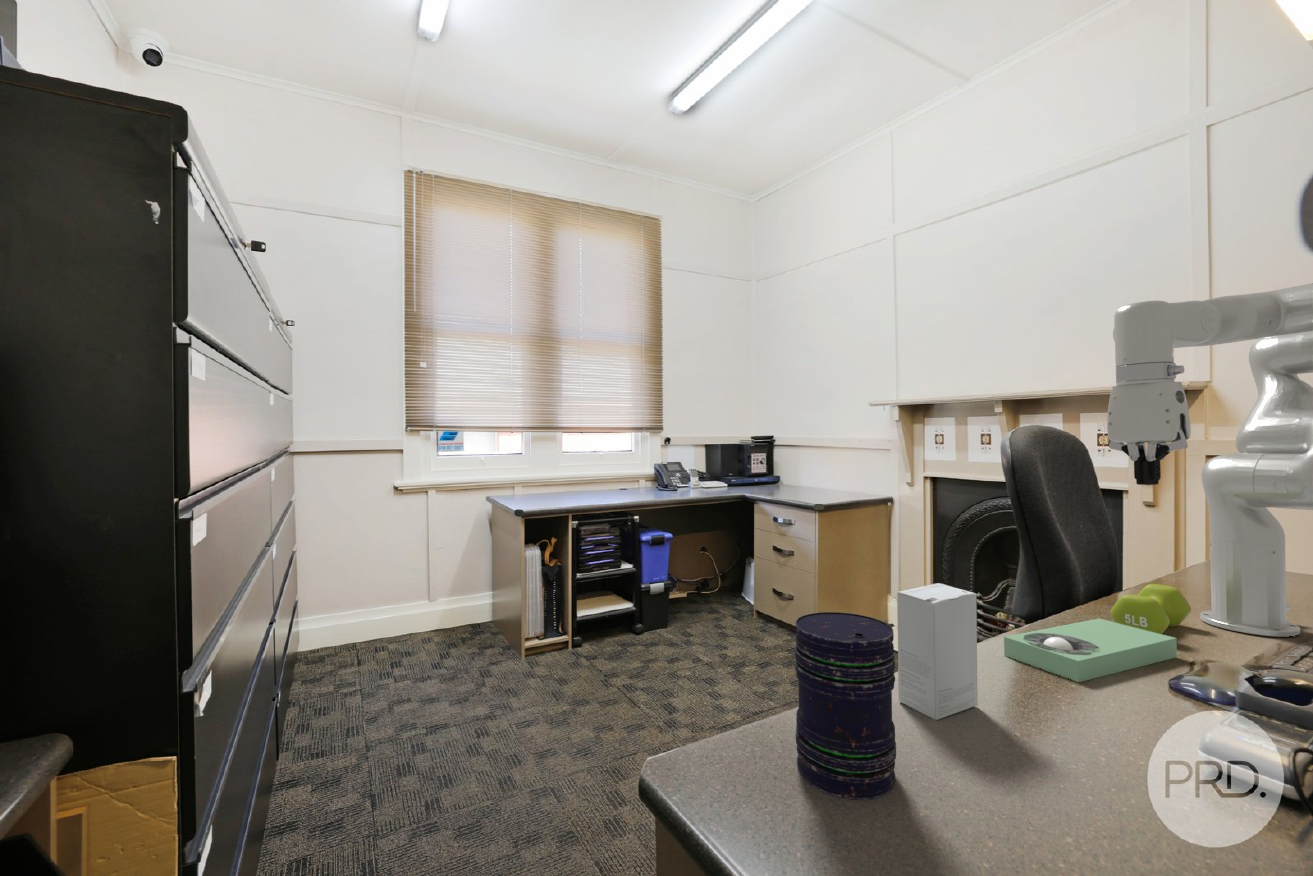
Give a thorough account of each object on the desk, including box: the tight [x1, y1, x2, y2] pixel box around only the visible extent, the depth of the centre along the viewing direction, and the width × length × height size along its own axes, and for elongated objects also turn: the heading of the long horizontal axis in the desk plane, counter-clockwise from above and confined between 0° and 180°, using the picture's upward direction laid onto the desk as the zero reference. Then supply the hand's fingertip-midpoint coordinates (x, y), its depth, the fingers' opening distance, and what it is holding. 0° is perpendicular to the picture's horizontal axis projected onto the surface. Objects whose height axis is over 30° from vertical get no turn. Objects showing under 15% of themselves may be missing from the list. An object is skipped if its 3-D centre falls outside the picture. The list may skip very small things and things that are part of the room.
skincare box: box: [896, 582, 979, 721], centre depth 73 cm, size 8×6×15 cm
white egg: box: [1043, 637, 1073, 650], centre depth 86 cm, size 4×4×4 cm
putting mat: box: [1003, 618, 1178, 683], centre depth 89 cm, size 24×11×3 cm, turn 112°
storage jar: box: [794, 611, 897, 801], centre depth 59 cm, size 10×10×15 cm
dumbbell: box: [1110, 583, 1192, 635], centre depth 102 cm, size 16×8×7 cm, turn 124°
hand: (1147, 484), depth 96 cm, fingers closed
